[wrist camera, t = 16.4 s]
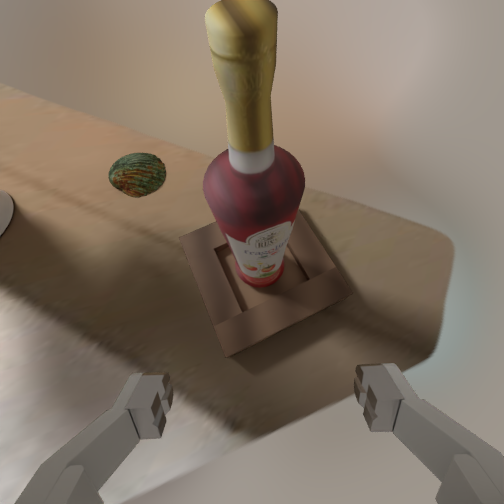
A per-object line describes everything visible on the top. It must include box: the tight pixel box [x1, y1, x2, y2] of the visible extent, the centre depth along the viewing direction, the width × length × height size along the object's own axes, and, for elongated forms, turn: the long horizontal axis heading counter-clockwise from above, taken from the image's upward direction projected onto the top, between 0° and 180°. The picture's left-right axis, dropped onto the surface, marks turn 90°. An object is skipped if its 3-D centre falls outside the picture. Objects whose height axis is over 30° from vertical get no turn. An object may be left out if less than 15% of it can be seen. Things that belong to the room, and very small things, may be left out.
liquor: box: [203, 0, 305, 288], centre depth 22 cm, size 7×7×28 cm
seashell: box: [109, 153, 166, 197], centre depth 44 cm, size 10×4×10 cm
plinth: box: [179, 209, 353, 358], centre depth 35 cm, size 18×18×4 cm
